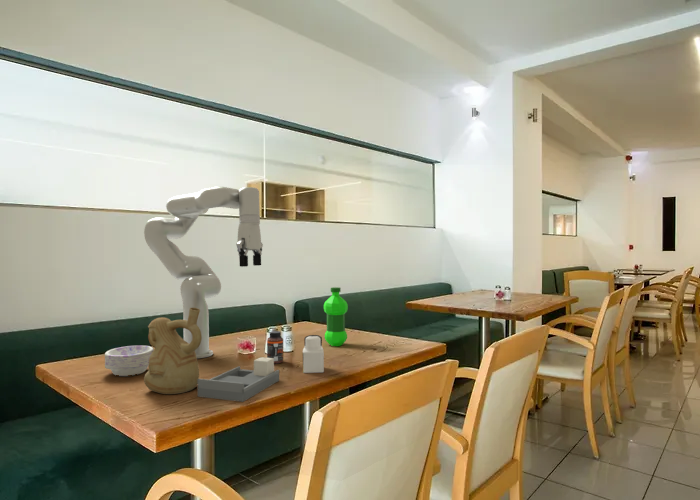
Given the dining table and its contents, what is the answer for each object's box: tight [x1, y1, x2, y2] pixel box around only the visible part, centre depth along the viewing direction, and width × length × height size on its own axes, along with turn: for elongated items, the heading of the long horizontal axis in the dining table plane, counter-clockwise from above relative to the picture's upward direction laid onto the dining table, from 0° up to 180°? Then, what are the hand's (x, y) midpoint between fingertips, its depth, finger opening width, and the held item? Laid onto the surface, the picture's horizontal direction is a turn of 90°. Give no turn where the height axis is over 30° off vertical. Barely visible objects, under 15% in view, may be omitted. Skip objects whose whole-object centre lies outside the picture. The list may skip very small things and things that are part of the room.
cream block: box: [253, 356, 275, 376], centre depth 147 cm, size 5×5×5 cm
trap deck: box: [197, 365, 280, 403], centre depth 141 cm, size 15×22×5 cm
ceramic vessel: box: [143, 308, 202, 395], centre depth 140 cm, size 17×20×25 cm
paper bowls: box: [104, 345, 155, 377], centre depth 159 cm, size 15×15×8 cm
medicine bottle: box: [302, 334, 325, 374], centre depth 161 cm, size 7×7×12 cm
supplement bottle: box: [266, 330, 284, 365], centre depth 172 cm, size 6×6×11 cm
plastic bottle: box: [323, 286, 349, 347], centre depth 202 cm, size 10×10×25 cm
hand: (250, 265), depth 174 cm, fingers open, 9 cm apart
